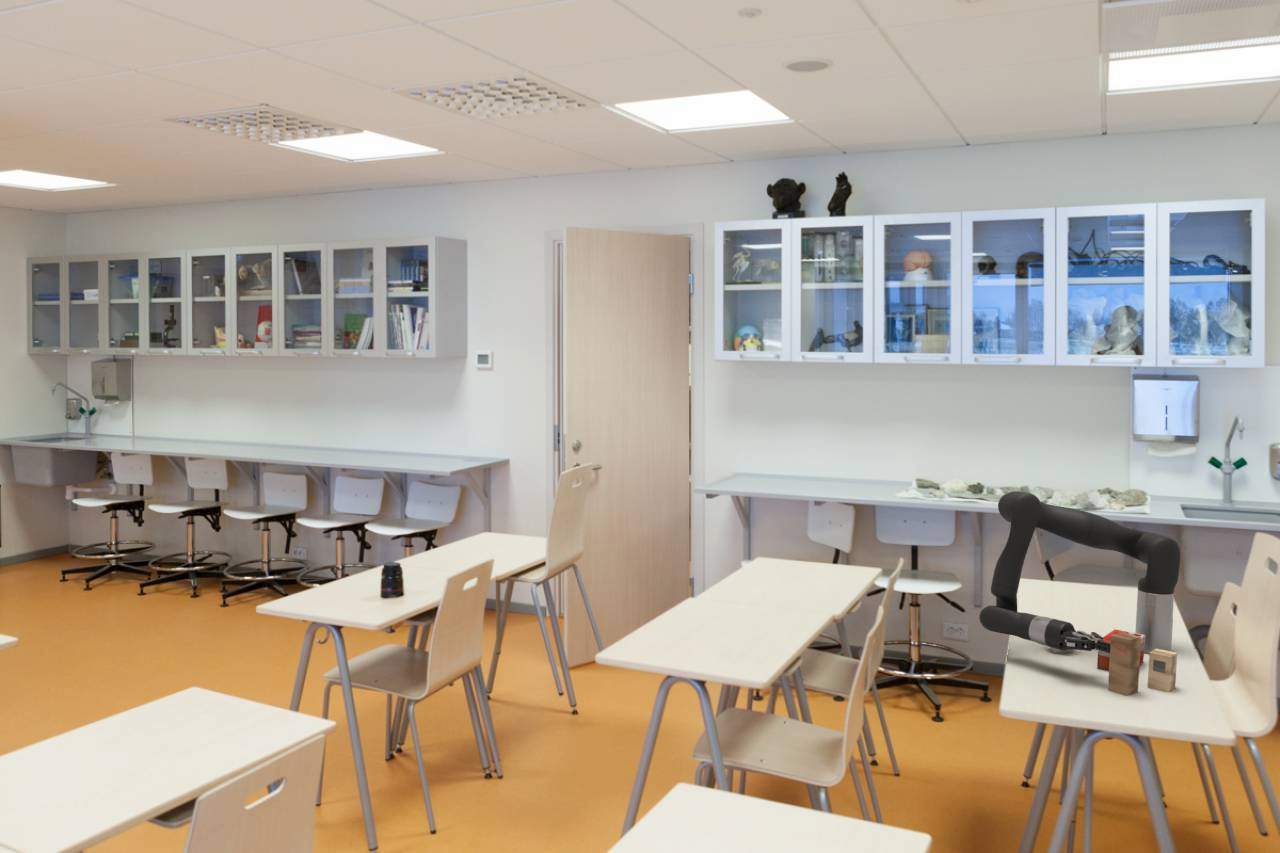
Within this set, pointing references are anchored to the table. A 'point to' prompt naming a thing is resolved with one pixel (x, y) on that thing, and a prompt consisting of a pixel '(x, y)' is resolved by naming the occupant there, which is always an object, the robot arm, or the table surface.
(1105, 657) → the medicine box
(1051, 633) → the robot arm
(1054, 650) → the die
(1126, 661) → the walnut block
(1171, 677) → the maple block
